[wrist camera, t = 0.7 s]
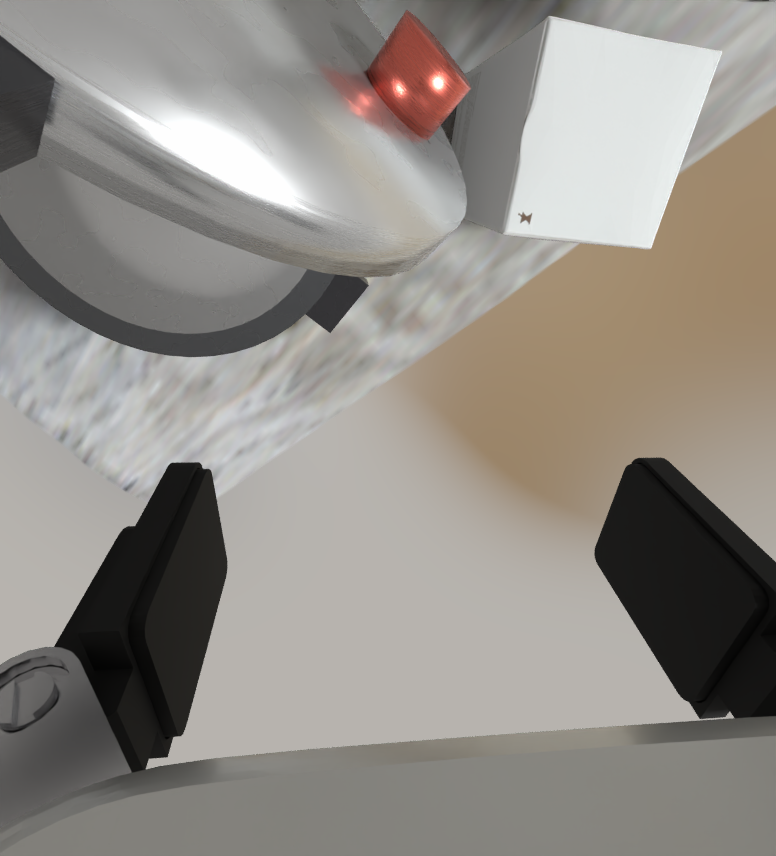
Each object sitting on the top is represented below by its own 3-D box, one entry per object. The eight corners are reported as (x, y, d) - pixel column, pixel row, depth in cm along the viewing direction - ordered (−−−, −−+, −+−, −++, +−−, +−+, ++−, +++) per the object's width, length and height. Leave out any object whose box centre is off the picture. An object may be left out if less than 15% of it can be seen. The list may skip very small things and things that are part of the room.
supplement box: (544, 224, 38) (653, 257, 25) (439, 211, 37) (497, 239, 24) (579, 90, 34) (732, 47, 21) (461, 70, 33) (547, 10, 20)
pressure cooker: (122, -182, 25) (-25, -422, 15) (438, 157, 35) (484, 155, 25) (-26, 168, 32) (-197, 171, 22) (272, 370, 42) (252, 439, 32)
